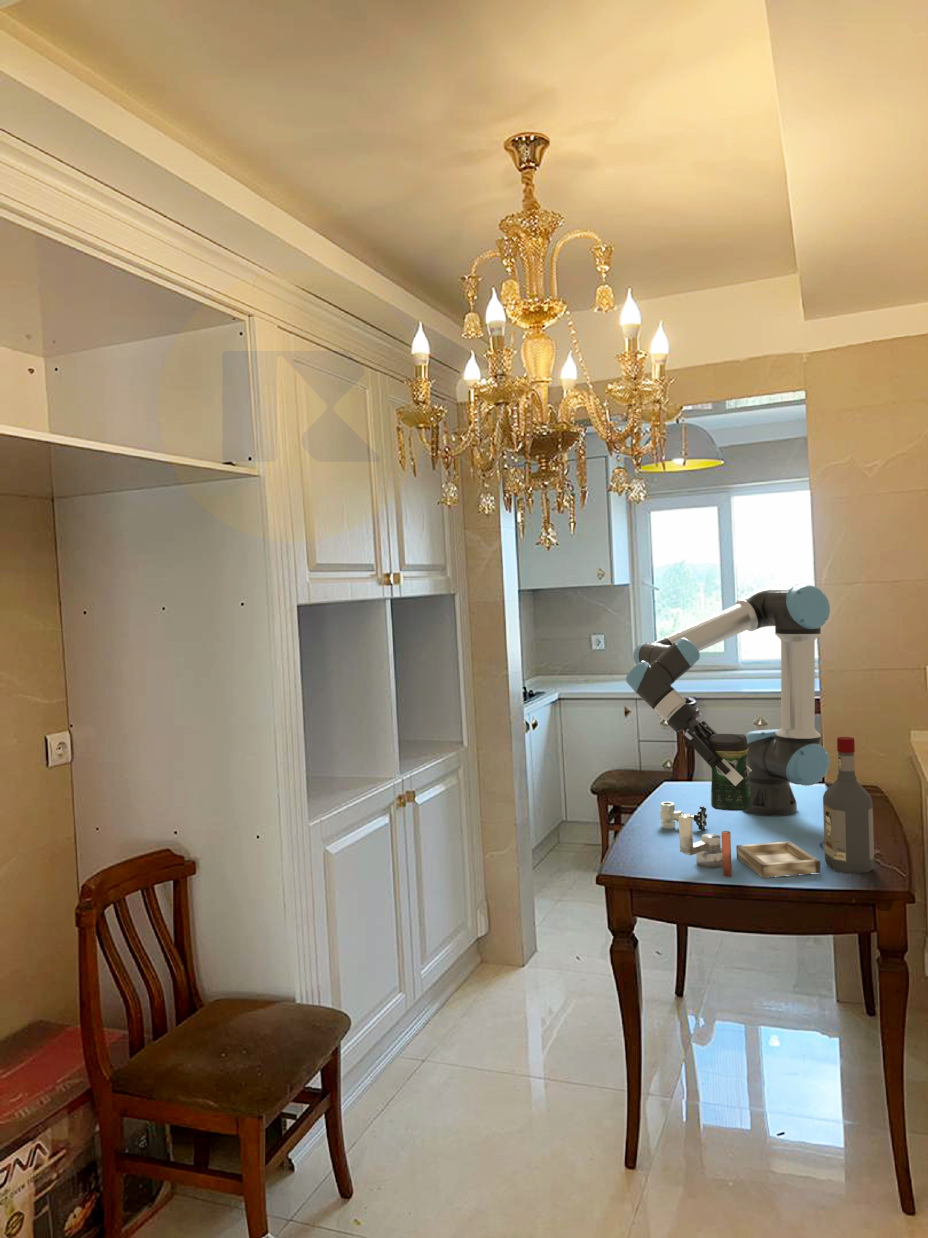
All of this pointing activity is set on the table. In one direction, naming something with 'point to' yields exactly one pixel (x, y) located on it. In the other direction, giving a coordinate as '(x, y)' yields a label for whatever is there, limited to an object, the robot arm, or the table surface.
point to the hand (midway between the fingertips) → (743, 778)
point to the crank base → (718, 856)
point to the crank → (689, 848)
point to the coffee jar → (722, 788)
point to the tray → (777, 859)
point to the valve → (670, 815)
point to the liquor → (848, 817)
